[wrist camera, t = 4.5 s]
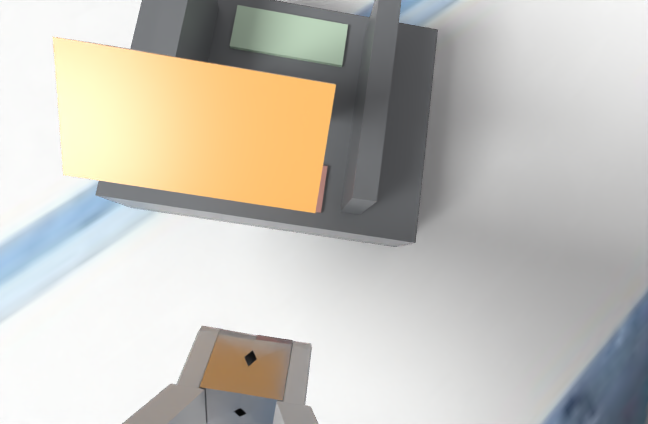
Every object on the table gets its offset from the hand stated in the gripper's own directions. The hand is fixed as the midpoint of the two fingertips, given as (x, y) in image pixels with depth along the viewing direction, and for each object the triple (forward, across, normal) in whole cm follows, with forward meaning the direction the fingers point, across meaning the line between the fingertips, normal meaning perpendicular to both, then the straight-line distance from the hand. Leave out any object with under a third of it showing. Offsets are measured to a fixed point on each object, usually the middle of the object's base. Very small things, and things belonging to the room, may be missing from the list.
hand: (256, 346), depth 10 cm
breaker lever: (+12, +2, -2) cm, 12 cm away
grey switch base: (+16, +2, +1) cm, 16 cm away
